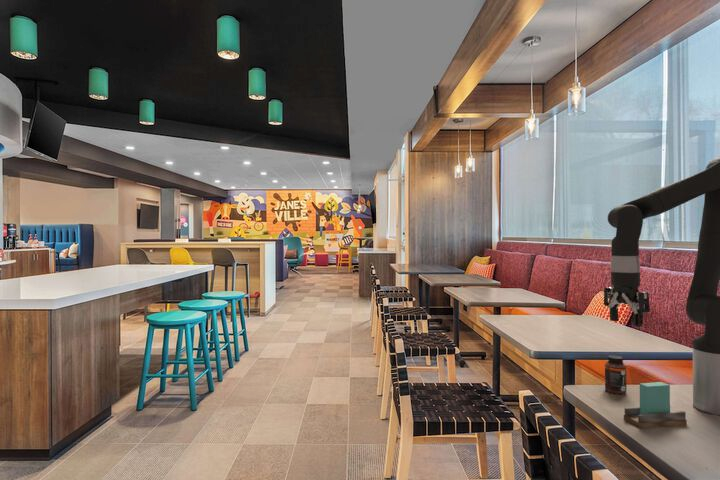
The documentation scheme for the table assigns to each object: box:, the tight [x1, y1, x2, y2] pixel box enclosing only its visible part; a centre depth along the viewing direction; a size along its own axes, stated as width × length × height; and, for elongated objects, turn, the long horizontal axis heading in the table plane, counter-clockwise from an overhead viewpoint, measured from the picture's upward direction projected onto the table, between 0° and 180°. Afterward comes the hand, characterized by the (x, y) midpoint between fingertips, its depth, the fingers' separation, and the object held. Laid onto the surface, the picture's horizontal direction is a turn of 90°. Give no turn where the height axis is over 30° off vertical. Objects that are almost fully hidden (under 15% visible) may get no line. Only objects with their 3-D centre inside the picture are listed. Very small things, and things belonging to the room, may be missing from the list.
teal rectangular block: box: [639, 381, 671, 415], centre depth 108 cm, size 7×2×9 cm, turn 99°
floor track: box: [623, 406, 688, 429], centre depth 108 cm, size 14×6×3 cm, turn 99°
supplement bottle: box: [604, 354, 628, 395], centre depth 129 cm, size 6×6×11 cm
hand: (625, 323), depth 121 cm, fingers open, 8 cm apart
